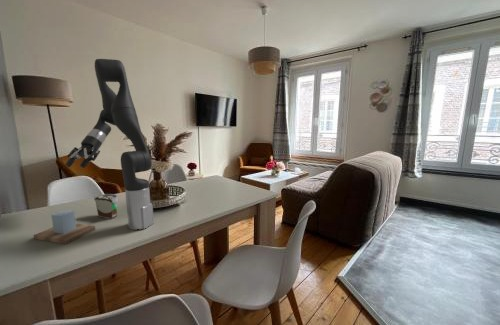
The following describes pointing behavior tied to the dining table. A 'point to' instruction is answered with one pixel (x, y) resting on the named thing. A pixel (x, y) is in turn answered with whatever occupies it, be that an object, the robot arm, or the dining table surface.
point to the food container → (106, 205)
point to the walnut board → (64, 238)
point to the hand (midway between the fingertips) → (74, 166)
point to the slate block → (63, 221)
